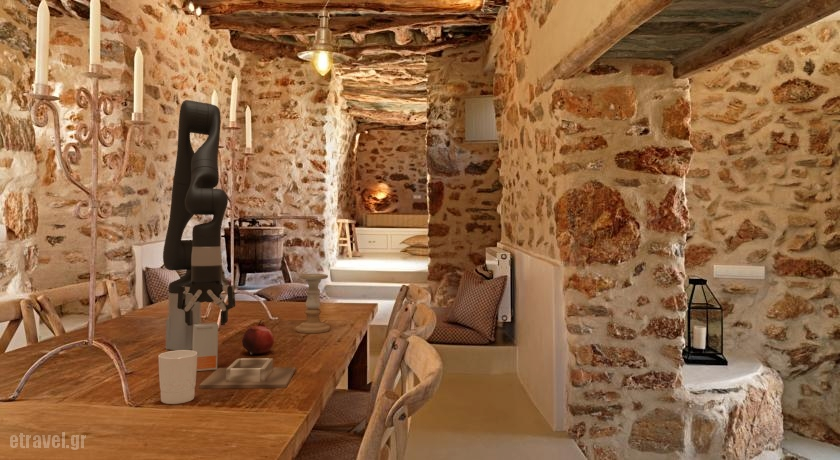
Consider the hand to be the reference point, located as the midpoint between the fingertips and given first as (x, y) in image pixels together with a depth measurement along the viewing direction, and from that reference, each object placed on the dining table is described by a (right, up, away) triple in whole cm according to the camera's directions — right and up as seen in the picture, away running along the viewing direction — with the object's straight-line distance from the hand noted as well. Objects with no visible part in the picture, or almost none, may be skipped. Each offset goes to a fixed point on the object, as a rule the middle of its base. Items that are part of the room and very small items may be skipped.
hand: (206, 325), depth 149 cm
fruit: (+8, -12, +19) cm, 24 cm away
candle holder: (+17, -12, +56) cm, 59 cm away
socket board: (+14, -12, -9) cm, 21 cm away
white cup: (+3, -12, -26) cm, 29 cm away
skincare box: (-1, -12, 0) cm, 12 cm away
